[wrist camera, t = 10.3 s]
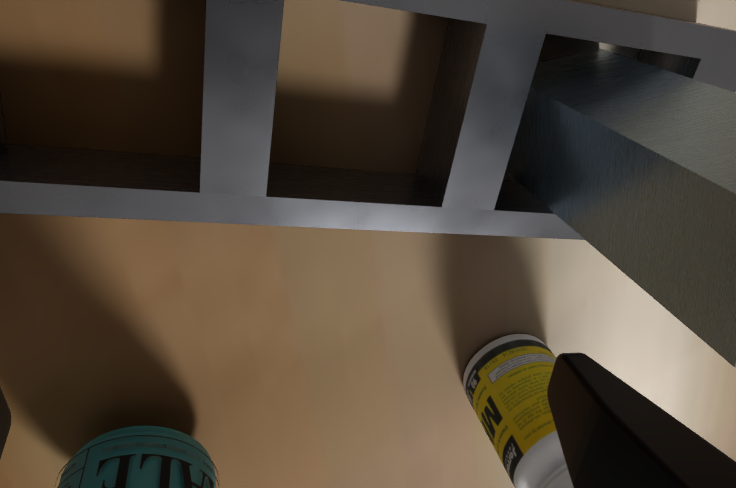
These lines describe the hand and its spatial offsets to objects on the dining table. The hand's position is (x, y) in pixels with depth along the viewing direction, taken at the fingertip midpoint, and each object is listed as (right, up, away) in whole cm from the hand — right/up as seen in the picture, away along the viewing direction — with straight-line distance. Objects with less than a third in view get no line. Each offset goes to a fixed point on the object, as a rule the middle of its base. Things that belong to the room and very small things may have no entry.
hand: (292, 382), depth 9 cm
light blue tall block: (+8, +7, +13) cm, 17 cm away
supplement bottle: (+8, -4, +20) cm, 21 cm away
